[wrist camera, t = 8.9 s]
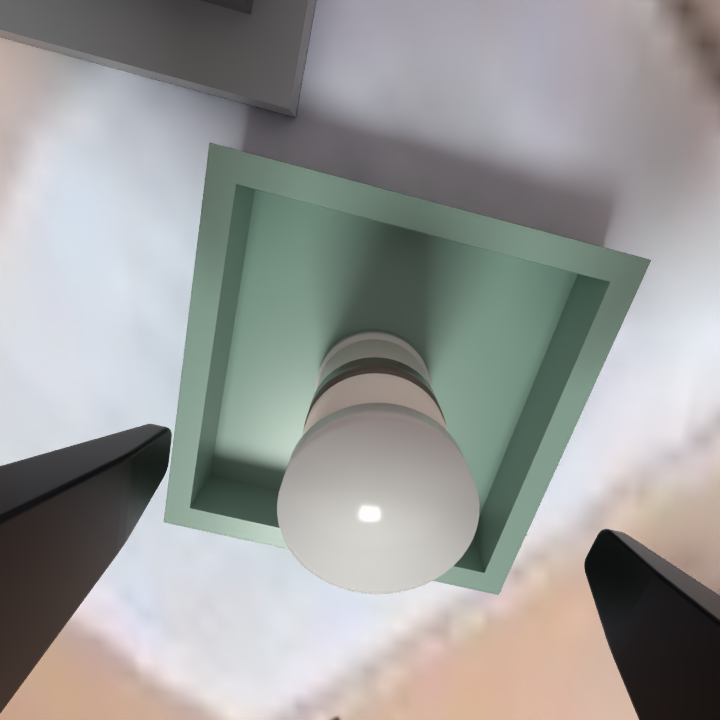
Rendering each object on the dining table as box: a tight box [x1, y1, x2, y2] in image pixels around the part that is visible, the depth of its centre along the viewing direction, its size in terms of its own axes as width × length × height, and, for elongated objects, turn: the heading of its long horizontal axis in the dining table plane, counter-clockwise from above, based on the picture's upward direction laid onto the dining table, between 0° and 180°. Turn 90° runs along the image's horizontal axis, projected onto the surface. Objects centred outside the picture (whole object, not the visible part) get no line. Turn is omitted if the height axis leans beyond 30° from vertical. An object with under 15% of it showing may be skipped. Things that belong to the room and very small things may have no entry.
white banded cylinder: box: [277, 329, 480, 594], centre depth 11 cm, size 4×4×7 cm
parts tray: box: [164, 143, 651, 595], centre depth 14 cm, size 12×12×2 cm
